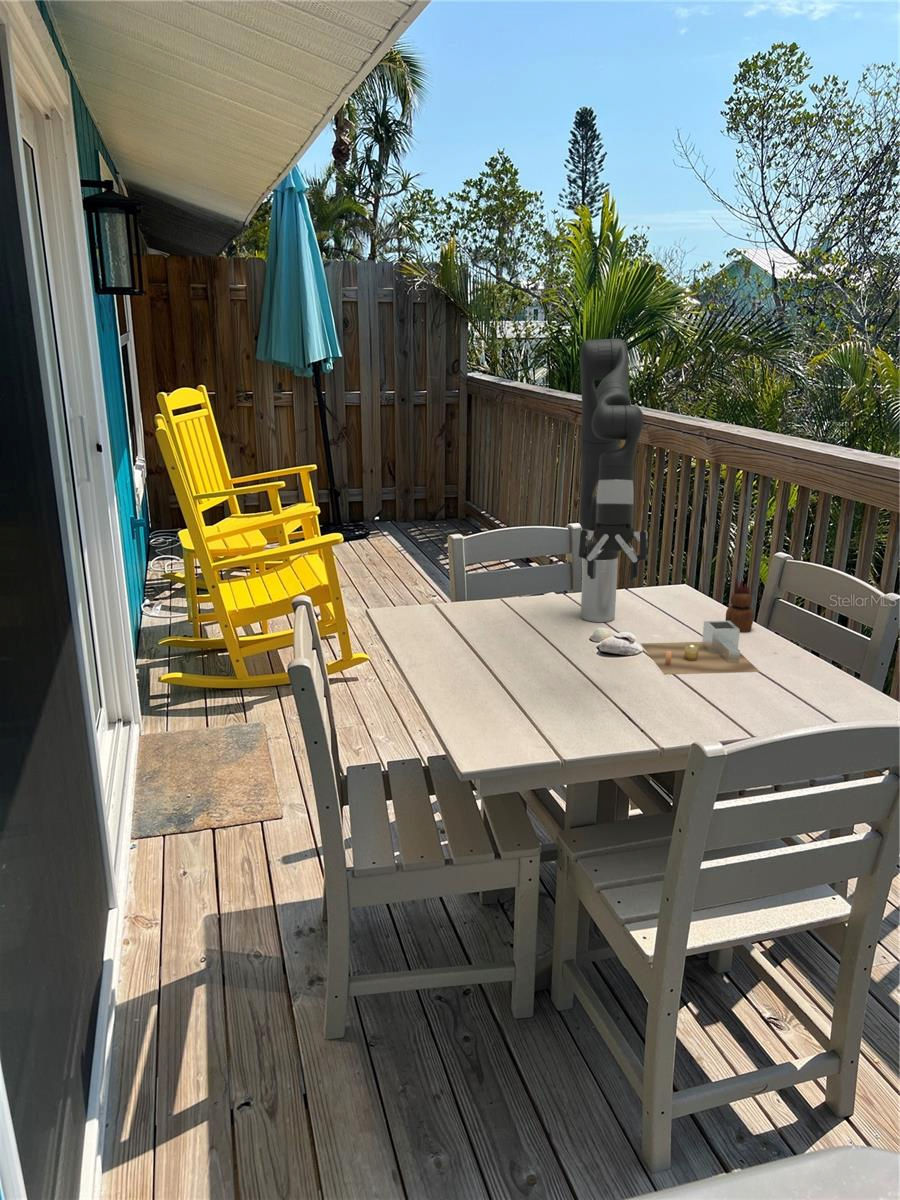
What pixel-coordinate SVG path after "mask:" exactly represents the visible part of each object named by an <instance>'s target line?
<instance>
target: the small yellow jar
mask: <svg viewBox="0 0 900 1200" xmlns="http://www.w3.org/2000/svg"><path fill="white" fill-rule="evenodd" d="M689 642H690V643H686V644H685V655H684V659H685V660H688V661H696V660H697V659H698V647H699V645H698V644H697V643H691V642H692V641H689Z"/></svg>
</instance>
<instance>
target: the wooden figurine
mask: <svg viewBox="0 0 900 1200" xmlns="http://www.w3.org/2000/svg"><path fill="white" fill-rule="evenodd" d="M734 580H735V581H734V587H733V588H734V590H733V593H732V595H731V598H730V603H731V605H730V606H728V608H727V609H726V612H725V621H731V622H732V623H733V624H734V625H735V626H736V627H738V628H739V629H740V632H739V633H749V632H750V631H751V630H752V626H753V623H754V617H755V613H754V610H753V609H752V607H750V606H751V605H752V601H753V600H752V595H751V594H750V587H749V586H747V583H744V582H743V579H741V581H740V583H738V578H737V577H735V578H734Z"/></svg>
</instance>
